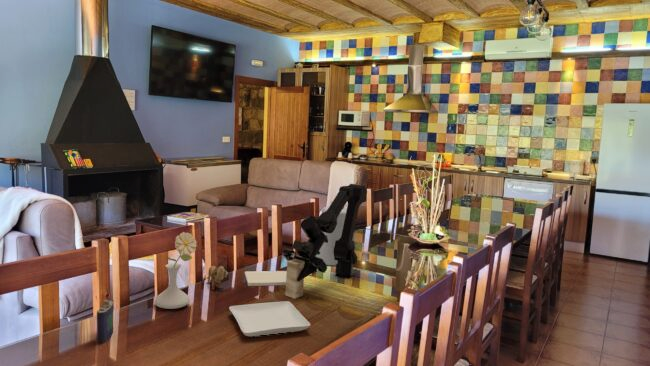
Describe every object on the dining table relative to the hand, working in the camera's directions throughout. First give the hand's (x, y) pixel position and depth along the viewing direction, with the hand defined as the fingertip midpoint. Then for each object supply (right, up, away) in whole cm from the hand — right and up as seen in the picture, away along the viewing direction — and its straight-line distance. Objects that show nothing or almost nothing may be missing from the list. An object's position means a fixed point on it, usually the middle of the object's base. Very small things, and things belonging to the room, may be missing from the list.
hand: (292, 279), depth 177 cm
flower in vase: (-39, -6, -15) cm, 42 cm away
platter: (-11, -4, +18) cm, 21 cm away
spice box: (0, -6, +2) cm, 7 cm away
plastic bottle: (+16, -2, +49) cm, 52 cm away
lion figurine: (-30, -4, +7) cm, 31 cm away
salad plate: (-6, -10, -24) cm, 27 cm away
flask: (-50, -9, -40) cm, 65 cm away
